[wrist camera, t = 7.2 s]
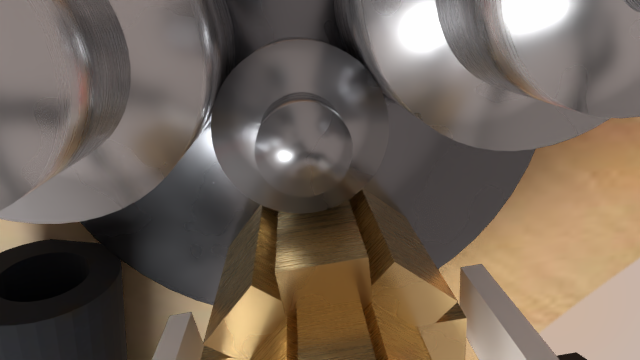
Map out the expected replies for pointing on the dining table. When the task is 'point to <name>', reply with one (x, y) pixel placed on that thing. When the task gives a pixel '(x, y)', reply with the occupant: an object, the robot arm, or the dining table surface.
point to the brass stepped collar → (333, 290)
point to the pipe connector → (61, 302)
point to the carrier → (292, 113)
